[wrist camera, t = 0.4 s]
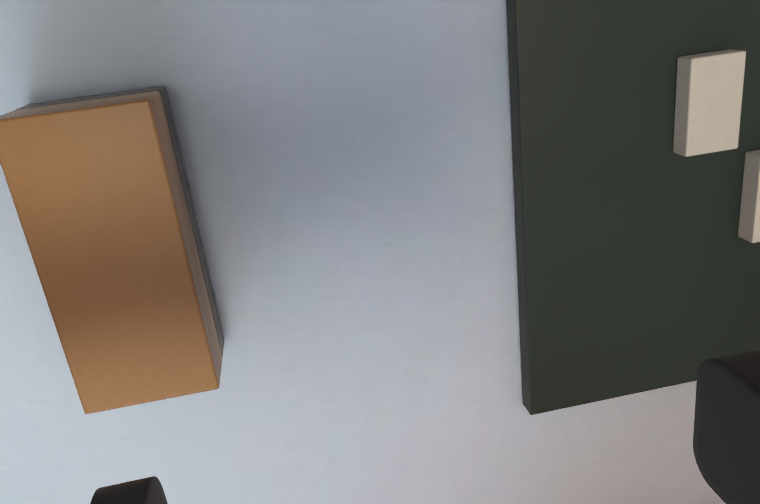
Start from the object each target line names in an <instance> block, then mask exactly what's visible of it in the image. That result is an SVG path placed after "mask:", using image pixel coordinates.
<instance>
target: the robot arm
mask: <svg viewBox="0 0 760 504" xmlns="http://www.w3.org/2000/svg"><path fill="white" fill-rule="evenodd" d="M693 449H694V455H695V459H696V462H697V465H698V467H699V470H700V472H701V474H702V476H703V477H704V479H705V481H706V482H707V483H708V485H709V486H710V487H711V488H712V489H713V490H714V491H715V493H716V494H717V495H718V496H719V497H720V498H721V499H722V500H723V501H724V502H725V503H726V504H760V351H758V350H749V351H745V352H740V353H735V354H731V355H726V356H721V357H717V358H712V359H707V360H705V361H703V362H702V363H701V365H700V366H699V369H698V374H697V388H696V404H695V420H694V436H693ZM91 504H167V501H166V497H165V494H164V491H163V488H162V485H161V483H160V481H159V480H158V478H157V477H155V476H153V477H149V478H144V479H139V480H135V481H130V482H125V483H121V484H116V485H111V486H107V487H102V488H98V489H97V490H96V492H95V493H94V495H93V498H92V501H91Z"/></svg>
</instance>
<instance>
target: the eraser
mask: <svg viewBox="0 0 760 504" xmlns="http://www.w3.org/2000/svg"><path fill="white" fill-rule="evenodd" d="M0 163H1V166H2V169H3V172H4V175H5V178H6V181H7V184H8V186H9V189H10V192H11V195H12V198H13V201H14V204H15V207H16V210H17V213H18V216H19V219H20V222H21V225H22V228H23V231H24V234H25V237H26V240H27V243H28V246H29V249H30V252H31V255H32V258H33V261H34V264H35V267H36V270H37V273H38V276H39V279H40V281H41V284H42V287H43V290H44V293H45V296H46V299H47V302H48V305H49V308H50V311H51V314H52V317H53V320H54V323H55V326H56V329H57V332H58V335H59V338H60V341H61V344H62V347H63V350H64V353H65V356H66V359H67V362H68V365H69V368H70V371H71V374H72V376H73V379H74V382H75V385H76V388H77V391H78V394H79V397H80V400H81V403H82V406H83V409H84V412H85V414H89V413H94V412H100V411H105V410H110V409H115V408H120V407H126V406H131V405H136V404H141V403H146V402H152V401H157V400H162V399H167V398H173V397H178V396H183V395H188V394H193V393H199V392H204V391H209V390H214V389H218V388H219V383H220V374H221V364H222V356H223V347H224V336H223V332H222V328H221V323H220V319H219V315H218V310H217V306H216V302H215V297H214V293H213V289H212V284H211V280H210V276H209V271H208V267H207V263H206V259H205V254H204V250H203V246H202V241H201V237H200V233H199V228H198V224H197V220H196V215H195V211H194V207H193V202H192V198H191V194H190V189H189V185H188V181H187V176H186V172H185V168H184V163H183V159H182V155H181V150H180V146H179V142H178V137H177V133H176V129H175V125H174V120H173V116H172V112H171V107H170V103H169V99H168V94H167V90H166V87H165V86H159V87H152V88H144V89H137V90H130V91H122V92H115V93H108V94H100V95H93V96H86V97H78V98H71V99H64V100H56V101H49V102H41V103H34V104H28V105H26V106H23V107H21V108H18V109H16V110H14V111H12V112H9V113H7V114H4V115H2V116H0Z"/></svg>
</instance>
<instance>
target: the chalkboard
mask: <svg viewBox="0 0 760 504" xmlns="http://www.w3.org/2000/svg"><path fill="white" fill-rule="evenodd" d="M507 22H508V47H509V71H510V95H511V120H512V144H513V169H514V193H515V217H516V242H517V266H518V290H519V315H520V339H521V364H522V388H523V404H524V406H525V407H526V409H527V410H528V412H529V413H530V415H533V414H538V413H543V412H547V411H552V410H557V409H562V408H567V407H571V406H576V405H581V404H586V403H591V402H595V401H600V400H605V399H610V398H614V397H619V396H624V395H629V394H634V393H638V392H643V391H648V390H653V389H658V388H662V387H667V386H672V385H677V384H682V383H686V382H691V381H696V380H697V374H698V369H699V366H700V365H701V363H702V362H703V361H705V360H707V359H712V358H717V357H721V356H726V355H731V354H735V353H740V352H745V351H749V350H758V351H760V242H756V243H751V242H749V241H747V240H745V239H743V238H740V237H738V229H739V218H740V208H741V197H742V186H743V175H744V164H745V153H746V152H750V151H756V150H760V0H507ZM729 49H731V50H743V51H746V60H745V71H744V83H743V94H742V105H741V117H740V128H739V140H738V148H736V149H731V150H725V151H719V152H713V153H707V154H701V155H695V156H688V157H686V156H683V155H680V154H677V153H674V152H673V141H674V122H675V102H676V82H677V63H678V57H681V56H688V55H695V54H702V53H709V52H716V51H723V50H729Z"/></svg>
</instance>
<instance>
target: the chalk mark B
mask: <svg viewBox="0 0 760 504" xmlns="http://www.w3.org/2000/svg"><path fill="white" fill-rule="evenodd" d="M738 237H740V238H743V239H745V240H747V241H749V242H751V243H756V242H760V150H756V151H750V152H746V153H745V164H744V175H743V186H742V197H741V208H740V218H739V229H738Z"/></svg>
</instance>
